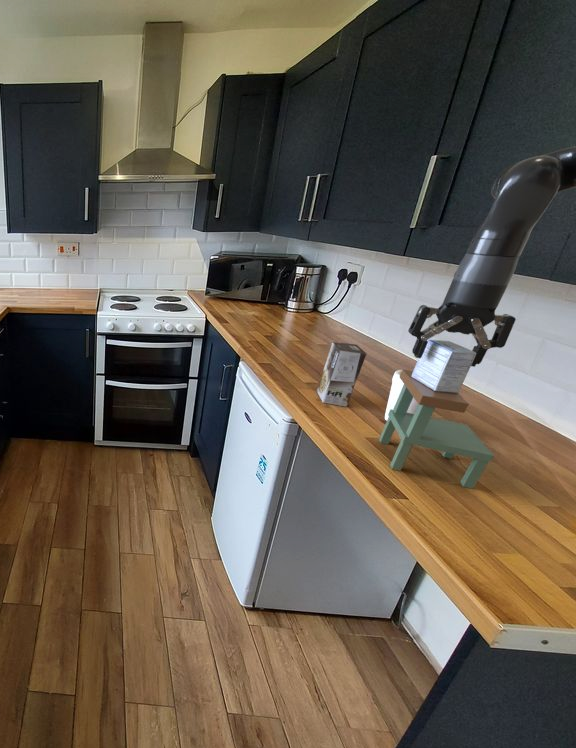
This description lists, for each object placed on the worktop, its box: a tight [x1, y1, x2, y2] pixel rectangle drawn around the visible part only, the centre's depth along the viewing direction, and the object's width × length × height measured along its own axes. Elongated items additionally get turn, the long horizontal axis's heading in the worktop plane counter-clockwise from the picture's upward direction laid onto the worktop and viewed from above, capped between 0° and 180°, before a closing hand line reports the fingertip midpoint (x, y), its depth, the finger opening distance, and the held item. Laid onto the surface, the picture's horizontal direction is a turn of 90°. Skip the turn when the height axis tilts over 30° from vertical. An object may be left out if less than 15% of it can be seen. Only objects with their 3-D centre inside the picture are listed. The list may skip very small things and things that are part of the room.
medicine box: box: [412, 339, 476, 393], centre depth 81 cm, size 8×4×9 cm, turn 170°
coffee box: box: [316, 341, 367, 408], centre depth 115 cm, size 9×6×16 cm
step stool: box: [378, 369, 495, 490], centre depth 86 cm, size 14×16×18 cm
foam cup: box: [384, 369, 419, 422], centre depth 104 cm, size 10×9×13 cm
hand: (443, 361), depth 81 cm, fingers open, 8 cm apart
